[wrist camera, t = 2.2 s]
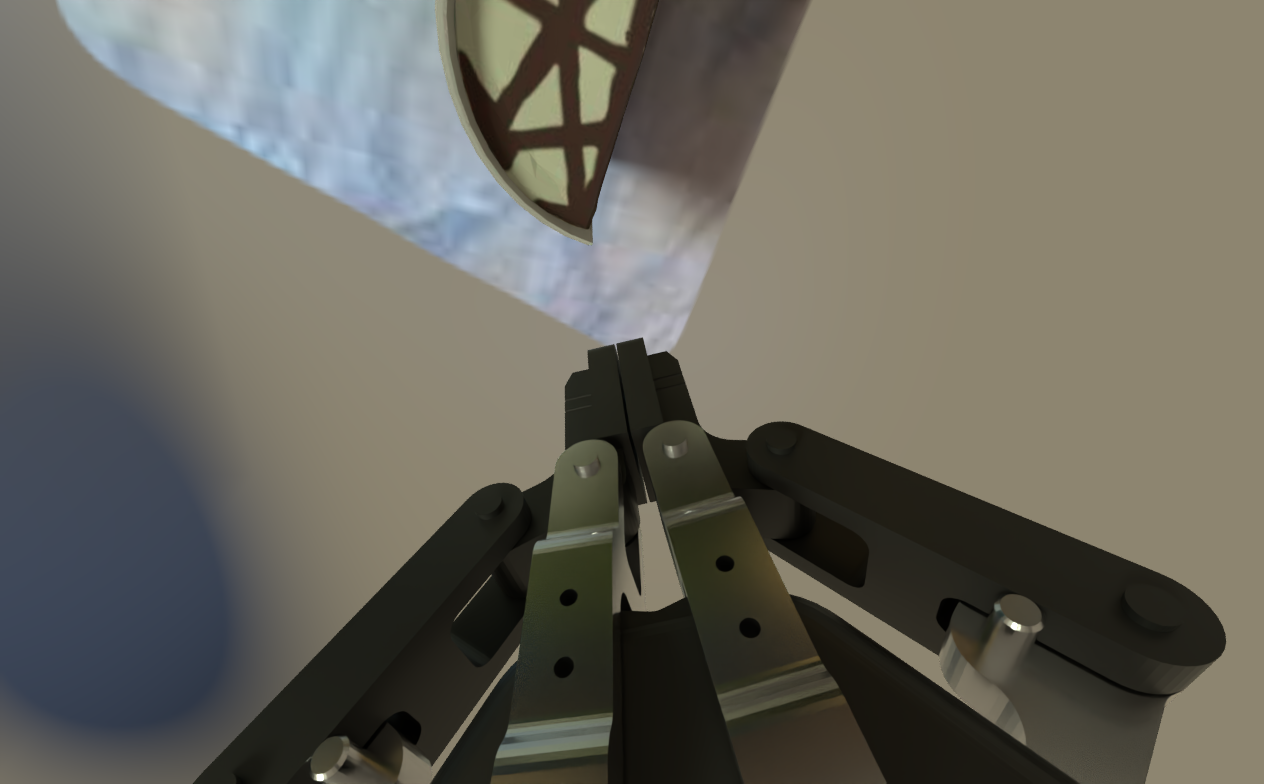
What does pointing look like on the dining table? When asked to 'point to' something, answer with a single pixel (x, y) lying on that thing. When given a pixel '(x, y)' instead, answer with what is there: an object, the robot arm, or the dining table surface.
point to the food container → (544, 94)
